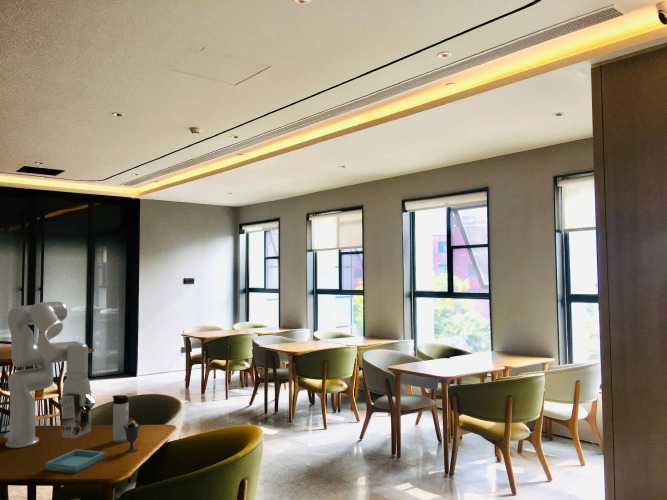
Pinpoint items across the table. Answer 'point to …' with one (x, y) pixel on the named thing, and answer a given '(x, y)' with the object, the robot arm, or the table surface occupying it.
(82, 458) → the tray
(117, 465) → the table surface
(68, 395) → the coffee box
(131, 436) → the sundae
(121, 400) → the travel mug
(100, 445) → the table surface
